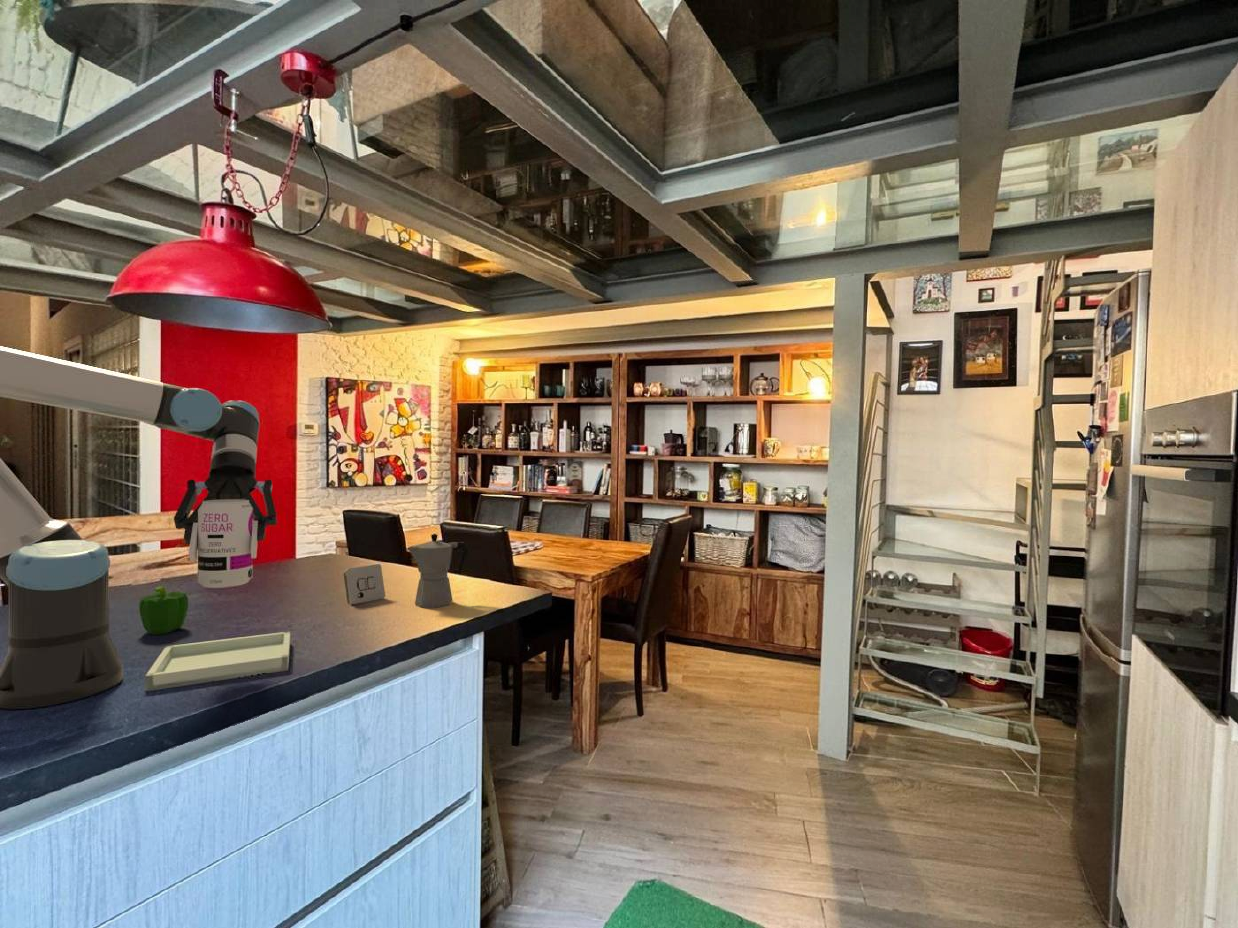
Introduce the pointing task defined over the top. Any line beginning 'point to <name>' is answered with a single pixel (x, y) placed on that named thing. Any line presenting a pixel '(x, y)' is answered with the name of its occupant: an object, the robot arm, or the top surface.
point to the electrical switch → (364, 584)
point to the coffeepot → (436, 571)
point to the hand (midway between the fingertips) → (223, 555)
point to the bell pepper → (163, 611)
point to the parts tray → (219, 660)
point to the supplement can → (224, 543)
